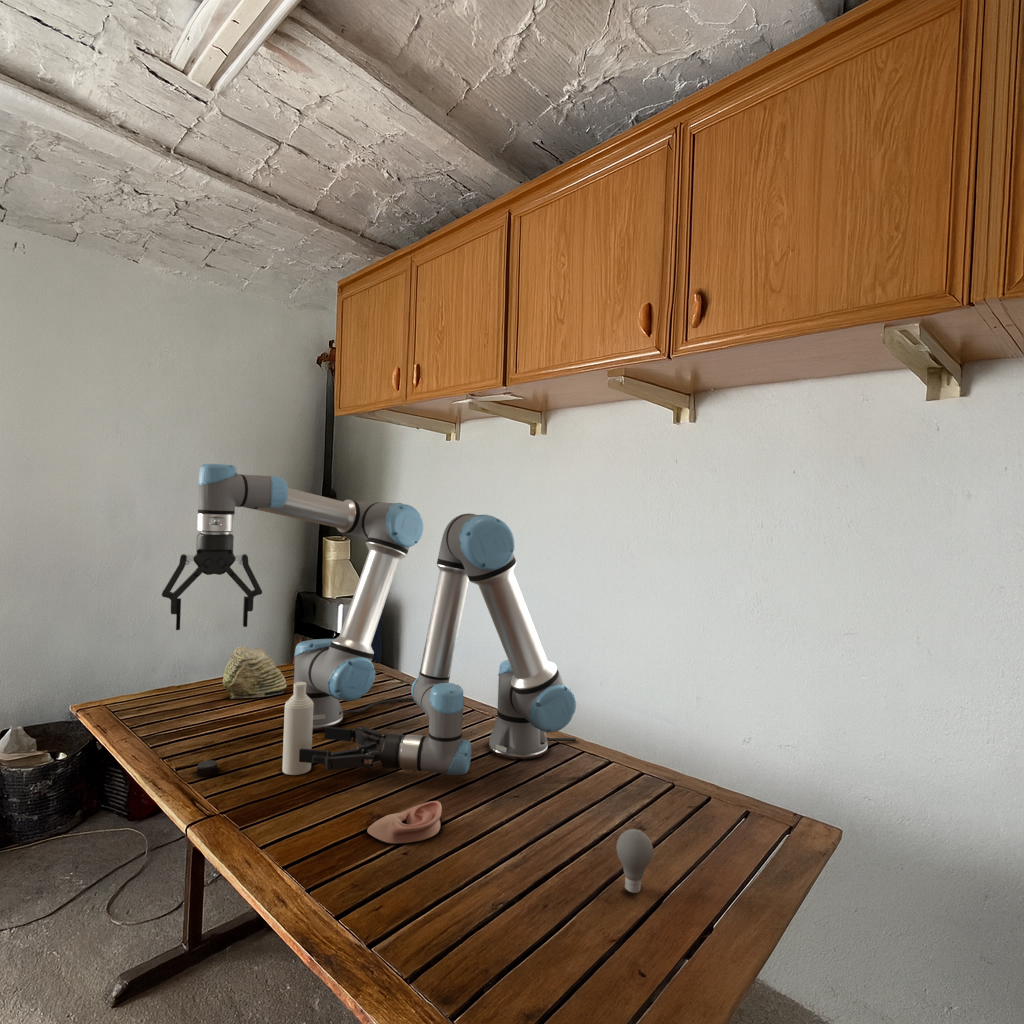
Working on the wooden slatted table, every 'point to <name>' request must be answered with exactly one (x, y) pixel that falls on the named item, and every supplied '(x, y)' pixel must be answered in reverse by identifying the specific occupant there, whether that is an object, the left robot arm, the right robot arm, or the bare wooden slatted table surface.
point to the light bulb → (634, 857)
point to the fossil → (252, 674)
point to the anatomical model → (408, 824)
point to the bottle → (297, 730)
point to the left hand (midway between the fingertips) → (212, 627)
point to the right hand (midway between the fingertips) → (313, 743)
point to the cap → (207, 768)
